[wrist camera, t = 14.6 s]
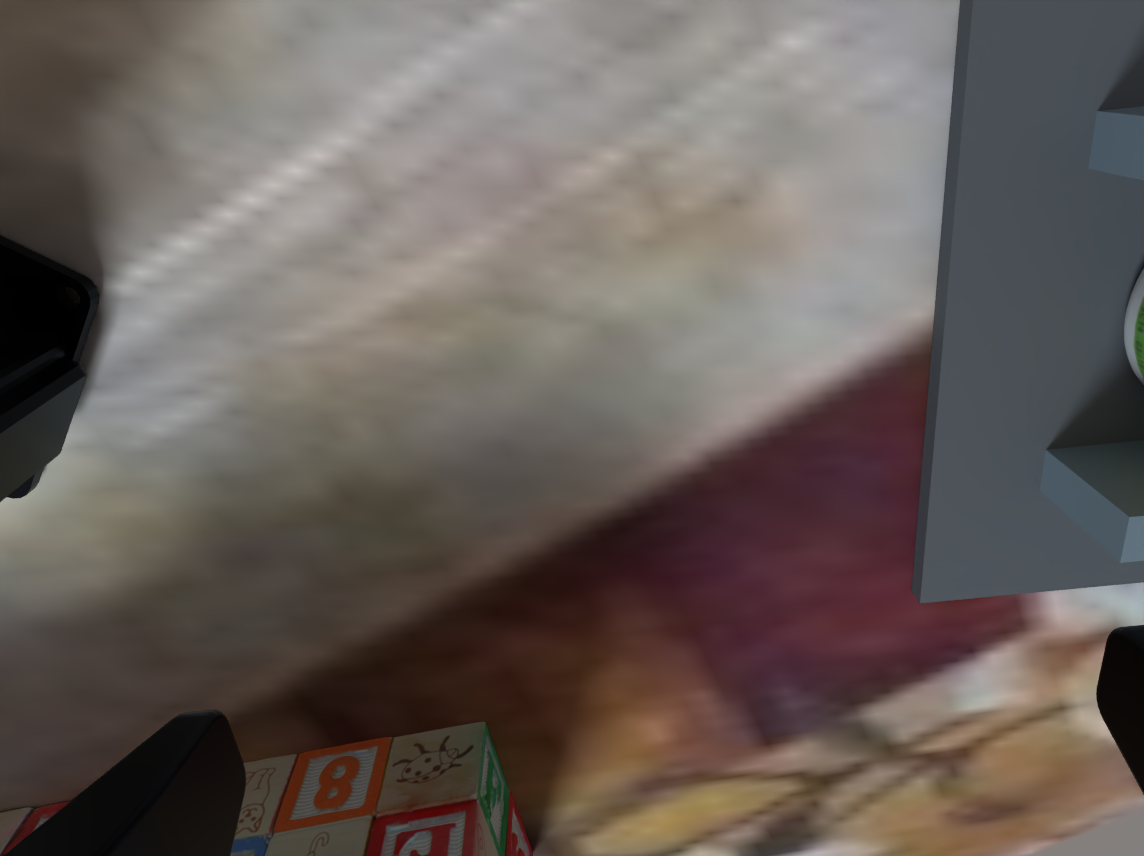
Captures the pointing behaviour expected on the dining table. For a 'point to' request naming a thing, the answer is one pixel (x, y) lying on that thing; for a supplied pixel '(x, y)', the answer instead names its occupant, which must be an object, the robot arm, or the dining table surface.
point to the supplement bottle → (1135, 329)
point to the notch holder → (1037, 307)
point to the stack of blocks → (366, 801)
